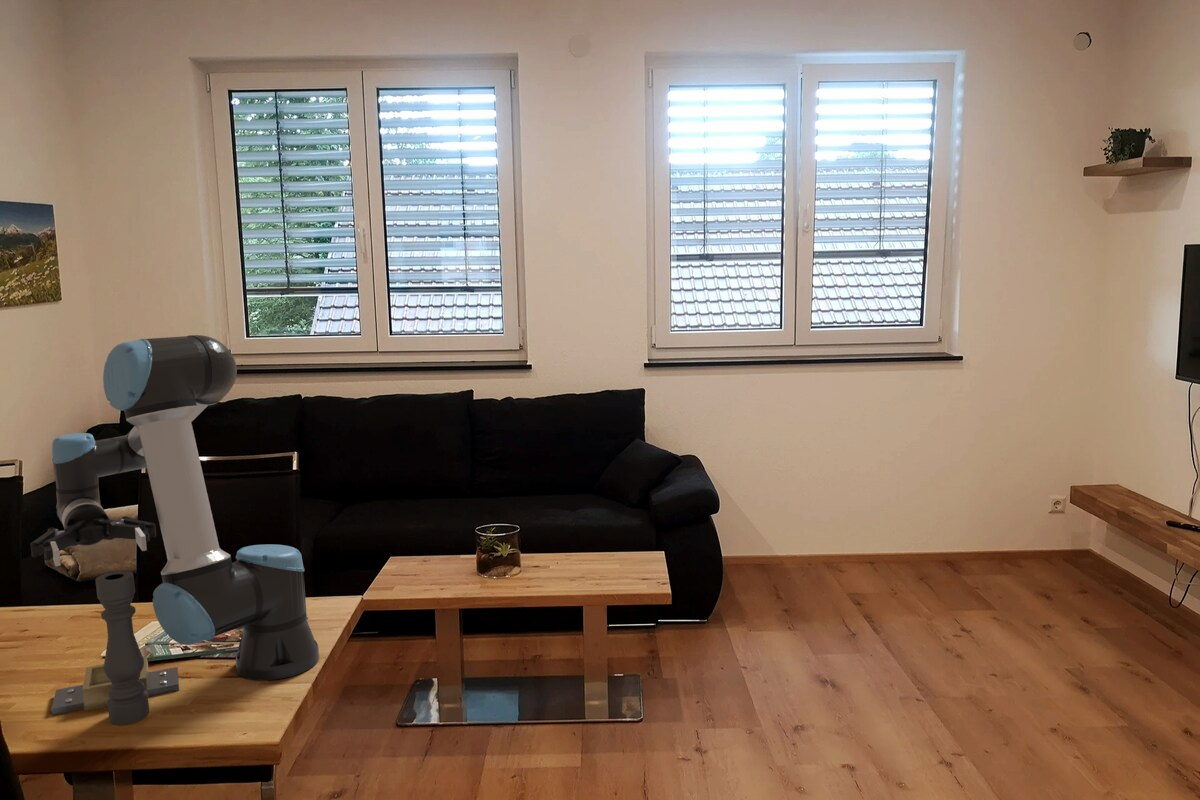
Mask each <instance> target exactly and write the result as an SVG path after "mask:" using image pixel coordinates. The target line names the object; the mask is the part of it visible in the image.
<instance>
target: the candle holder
mask: <svg viewBox="0 0 1200 800" xmlns="http://www.w3.org/2000/svg"><path fill="white" fill-rule="evenodd" d="M134 577H135V576H134V573H133V572H132V571H127V570H125V571H124V570H120V571H114V572H108V573H105V574H101V575H99V576H97V577H96V578H95V586H96V596H97V597H96V598H97V600H99V603H100V605H102V608H104V610H103V611H102V612H101V614H100V616H101V619H102V620H103V621H105V622H106V630H107V632H106V633H107V642H106V643H107V644H106V649H105V655H104V663H103V664H104V671H105V674H106V676H107V677H108V678H109V679H110V680H111V683H112V684H113V686H112V687H111V689H110V691H109V692H108V695H109V698H110V699H109V700H108V702H107V703H108V707H107V709H108V720H109V723H110V724H112V725H115V726H126V725H131V724H132V725H133V724H135V723H138V722H140V721H142V720H144V719H145V718H147V717H148V716H149V715H150V713H151V712H150V705H149V699H148V694H147V692H146V691H144V690H145V685H144V683H142V682H141V681H140V680H139V677H140V672H141V671H142V669H143V667H144V659H143V657H144V656H143V654H142V652H141V649H140V646H139V644H138V642H137V639H136V636H135V633H134V627H133V616H134V615H135V613H136V611H137V610H136V607H135V606H133V605H132V603H133V599H135V595H134V594H135V593H136V587H135V586H136V585H135V578H134Z"/></svg>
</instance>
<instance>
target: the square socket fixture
mask: <svg viewBox="0 0 1200 800" xmlns="http://www.w3.org/2000/svg"><path fill="white" fill-rule="evenodd" d="M143 659H144V667H143V669H142V671H141V672H140V677H139V680H140V681H141V682H142V683H144V685H145V690H144V691H146V692H147V694H148V700H149V697H152V696H153V697H154V696H157V695H162V694H169V693H173V692H177V691H178V692H179V691H180V683H179V681H180V680H179V668H178V666H175V667H170V668H165V669H160V670H155V671H149V664H148V656H146V655H145V656H143ZM83 679H84V680H83V684H80V685H74V686H70V687H64V688H59V689H55V693H54V696H53V697H54V698H53V701H52V704H51V715H52V716H56V715H55V714H57V715H62V714H67V713H72V712H76V711H81V710H84V712H88V711H89V712H90V711H94V710H99V709H103V708H108V703H107V702H108V700H109V699H110V698H109V695H108V692H109V691H110V689H111V687H112V686H113V684H112V683H111V680H110V679H109V678H108V677H107V676H106V674H105V671H104V663H103V664H97V665H92V666H86V668H85V673H84V678H83ZM66 712H67V713H66ZM61 713H62V714H61Z"/></svg>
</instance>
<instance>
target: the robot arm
mask: <svg viewBox="0 0 1200 800" xmlns="http://www.w3.org/2000/svg"><path fill="white" fill-rule="evenodd" d="M237 369H238V368H237V363H236V359H235V358H234V355H233V354H232V352H231V350H229V348H227V346H226V345H225V344H223V343H222V342H221V341H219V340H218V339H216V338H213V337H211V336H208V335H201V334H191V335H186V336H182V335H181V336H167V337H154V338H153V337H152V338H140V339H136V340H135V339H134V340H130V341H125V342H121V343H119V344H117V345H115V346H114V347H113V348H112V349H111V350H110V352H109V353H108V355H107V358H106V361H105V362H104V368H103V372H102V373H103V374H102V382H103V391H104V395H105V397H106V399H107V401H109V405H110V406H111V408H113V409H115V410H118V411H123V412H124V416H125V420H126V422H128V423H130V424H131V425H133V427H132V429H131V430H129V431H128V433H126V434H125V435H121V436H116V437H110V438H104V439H103V438H102V439H98V440H97V439H96V440H95V437H94V436H93V434H92V433H89V432H87V433H86V432H76V433H67V434H62V435H59V436H57V437H55V438H54V439H53V441H52V448H51V454H52V455H51V456H52V466H53V472H54V479H55V487H56V492H55V493H56V506H55V508H56V515H57V518H59V521H60V522H61V524H62V526H63V528H64V529H63V530H59V529H57V528H56V527H49V528H48V529H47V531H46V532H45V533H43V534H42V535H41V536H39V537H37V538H36V539H34V540H33V541H32V542H31V543H30V551H31V557H32V558H38V557H40V556H41V555H43V558H44V561H51V560H53V562H54V566H55V567H60V566H61V565H62V564H61V556H60V555H61V554H60V552H61V551H62V550H65V549H67V548H69V547H77V546H78V545H80V546H93V545H96V544H99V543H100V542H101V541H103V540H107V541H112V540H115V539H123V540H135V542H136V544H137V546H138V547H139V548H140V550H141V551H142V552H145V551H148V548H147V542H150V538H156V537H157V528H156V523H154V522H148V521H144V520H140V519H135V518H131V517H130V516H123V517H122V518H121V519H120V521H115V520H111V519H110V518H109V515H108V514H107V513H106V511H105V510H104V508H103V507H102V505H101V498H100V497H101V496H100V489H99V487H100V485H99V478H101V477H106V476H112V475H116V474H122V473H128V472H131V471H132V472H133V471H136V470H142V469H147V473H148V478H149V483H150V487H151V491H152V497H153V501H154V504H155V505H154V506H155V509H156V514H157V519H158V522H159V528H160V532H161V536H162V540H163V546H164V550H165V554H166V558H167V562H166V564H165V566H164V567H163V568H162V570H161V571H160V575H161V576H160V577H161V579H162V583H160V584H159V585H158V586H157V587H156V588H155V589H154V591H153V594H152V596H153V598H152V607H153V611H154V614H155V617H156V619H157V621H158V623H159V625H160V627H161V629H162V630H163V631H164V632H165V633H166V634H167V635H168V636H169V638H171V639H172V640H173V641H174V642H176V643H177V644H181V645H185V646H191V645H194V644H198V643H201V642H204V641H211V640H213V638H215V637H218V636H221V635H223V634H226V633H228V632H231V631H233V630H236V629H239V628H242V633H241V637H240V640H239V645H238V649H237V654H236V656H235V668H236V673H237V675H238V676H240V677H242V678H245V679H247V680H254V681H274V680H275V681H276V680H281V679H286V678H290V677H293V676H296V675H299V674H301V673H304V672H306V671H308V670H309V669H311V668H313V667H314V666H315V665H316V664H317V663H318V662H319V659H320V652H319V651H320V650H319V649H320V648H319V644H318V643H317V641H316V640H315V638H314V635H313V632H312V629H311V627H310V624H309V621H307V617H308V615H307V604H306V603H307V602H306V590H305V589H306V588H305V574H304V572H305V567H304V563H303V558H302V557H303V556H302V553H301V552H300V550H299V549H297V548H295V547H293V546H290V545H284V544H275V543H274V544H267V543H266V544H253V545H248V546H243V547H241V548H240V549H239V550H237V552H236V555H235V559H236V561H232V556H231V554H229V553H228V552H226V551H224V550H223V549H221V547H220V545H219V541H218V539H219V538H218V535H217V531H216V527H215V522H214V518H213V517H214V516H213V513H212V510H211V504H210V500H209V495H208V492H207V487H206V483H205V477H204V474H203V473H204V472H203V468H202V465H201V459H200V456H199V451H198V447H197V442H196V437H195V432H194V429H193V428H194V427H193V424H192V422H193V421H194V420H195V419H196V418H197V417H198V416H199V415H200V414H201V413H202V412H203V411H204V410H205V409H206V408H207V407H208V406H212V405H216V404H218V403H219V402H221V400H223V399H224V397H226V396H227V395H228V393H230V391H231V390H232V389H233V387H234V385H235V383H236V379H237V374H238V373H237V372H238V370H237Z"/></svg>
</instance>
